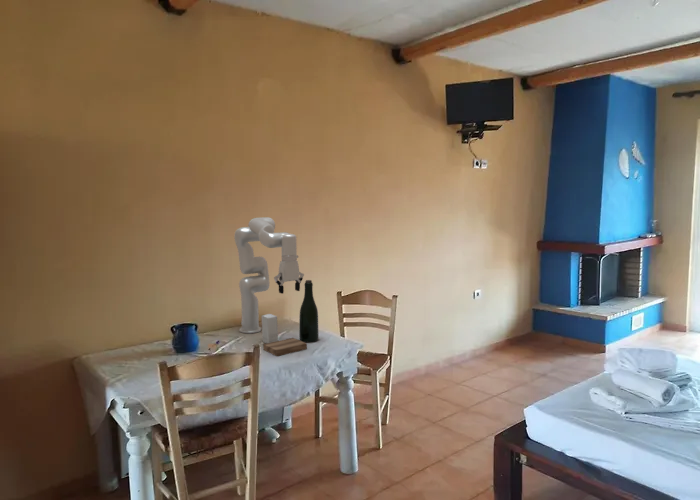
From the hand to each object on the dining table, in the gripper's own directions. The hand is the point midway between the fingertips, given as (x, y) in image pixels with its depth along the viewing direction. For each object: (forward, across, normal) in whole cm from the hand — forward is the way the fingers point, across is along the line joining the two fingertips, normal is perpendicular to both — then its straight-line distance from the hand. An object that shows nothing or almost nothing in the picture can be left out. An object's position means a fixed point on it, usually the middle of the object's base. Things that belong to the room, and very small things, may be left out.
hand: (289, 291), depth 263 cm
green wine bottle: (+30, -16, -6) cm, 35 cm away
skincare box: (+30, +2, -16) cm, 34 cm away
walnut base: (+30, +3, 0) cm, 30 cm away
